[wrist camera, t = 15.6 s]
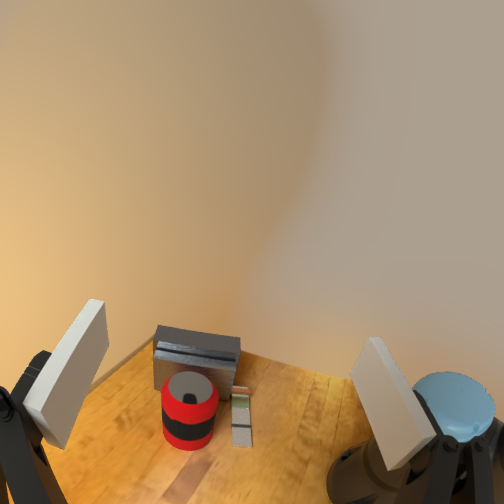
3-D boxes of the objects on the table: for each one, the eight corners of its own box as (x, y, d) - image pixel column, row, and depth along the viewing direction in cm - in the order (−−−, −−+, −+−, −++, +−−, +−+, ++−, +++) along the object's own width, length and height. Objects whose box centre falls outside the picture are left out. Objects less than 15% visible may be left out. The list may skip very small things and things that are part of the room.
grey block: (247, 374, 52) (255, 344, 49) (249, 402, 45) (258, 373, 42) (161, 362, 50) (161, 330, 47) (154, 389, 43) (153, 358, 40)
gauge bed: (246, 377, 51) (257, 339, 48) (251, 448, 37) (265, 415, 33) (158, 365, 49) (158, 324, 45) (141, 433, 34) (134, 397, 31)
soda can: (161, 449, 33) (158, 407, 28) (164, 411, 40) (163, 363, 35) (212, 453, 34) (222, 412, 30) (210, 415, 41) (218, 368, 37)
